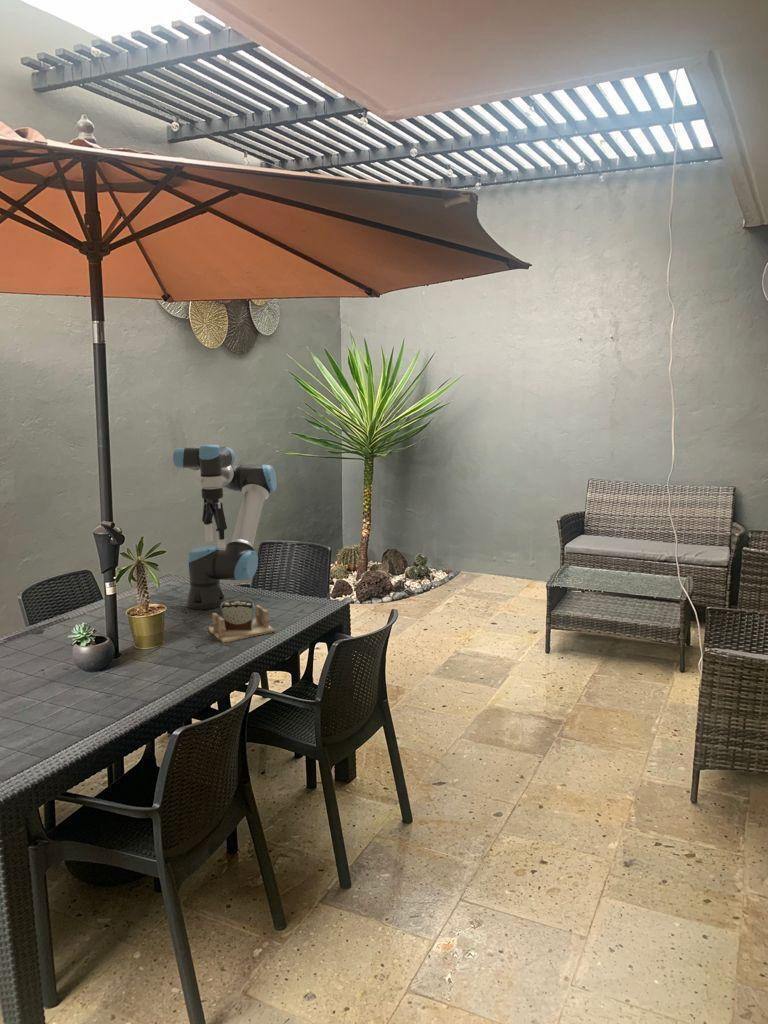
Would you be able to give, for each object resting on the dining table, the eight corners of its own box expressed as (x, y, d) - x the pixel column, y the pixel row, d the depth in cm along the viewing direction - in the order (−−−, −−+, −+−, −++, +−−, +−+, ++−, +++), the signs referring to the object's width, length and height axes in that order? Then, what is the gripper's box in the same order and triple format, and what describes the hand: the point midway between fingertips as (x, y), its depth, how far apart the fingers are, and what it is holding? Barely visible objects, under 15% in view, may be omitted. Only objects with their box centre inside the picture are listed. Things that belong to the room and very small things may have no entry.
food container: (259, 624, 264) (258, 598, 262) (255, 630, 258) (254, 603, 256) (226, 624, 265) (224, 598, 263) (221, 630, 259) (219, 603, 257)
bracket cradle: (208, 629, 263) (206, 611, 262) (257, 620, 273) (256, 602, 271) (223, 643, 249) (222, 623, 248) (275, 632, 259) (274, 613, 258)
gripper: (191, 484, 274) (195, 540, 278) (213, 492, 253) (216, 552, 257) (210, 482, 278) (214, 537, 282) (234, 490, 257) (237, 549, 261)
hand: (215, 544), depth 269 cm, fingers open, 13 cm apart
